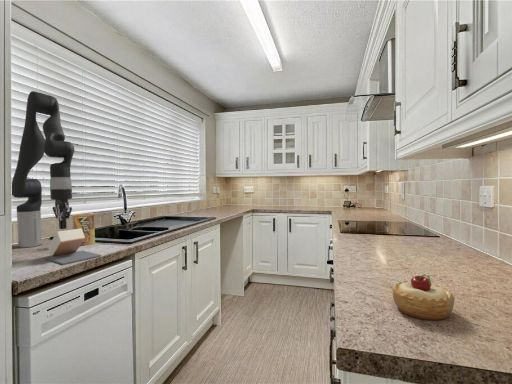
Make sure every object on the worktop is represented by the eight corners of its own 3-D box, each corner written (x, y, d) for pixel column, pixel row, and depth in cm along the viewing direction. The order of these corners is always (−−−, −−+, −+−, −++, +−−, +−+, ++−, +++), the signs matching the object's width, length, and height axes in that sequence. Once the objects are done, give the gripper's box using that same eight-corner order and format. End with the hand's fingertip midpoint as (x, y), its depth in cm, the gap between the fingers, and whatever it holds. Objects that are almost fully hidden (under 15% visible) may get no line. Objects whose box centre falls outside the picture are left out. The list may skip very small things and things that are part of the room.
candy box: (93, 242, 144) (92, 212, 144) (95, 243, 141) (94, 213, 141) (73, 245, 139) (72, 214, 138) (74, 246, 135) (73, 215, 135)
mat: (45, 259, 113) (45, 257, 113) (82, 251, 125) (82, 250, 125) (63, 265, 104) (63, 263, 104) (101, 256, 116) (101, 254, 116)
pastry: (425, 300, 70) (425, 264, 70) (467, 322, 59) (468, 279, 59) (381, 302, 68) (381, 266, 68) (416, 325, 57) (417, 281, 57)
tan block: (47, 247, 117) (57, 231, 112) (71, 243, 125) (81, 228, 119) (51, 257, 116) (61, 242, 110) (75, 252, 123) (85, 238, 118)
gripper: (44, 188, 119) (46, 229, 120) (58, 188, 112) (60, 231, 112) (63, 188, 125) (65, 226, 126) (78, 187, 118) (80, 228, 119)
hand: (63, 228), depth 119 cm, fingers closed
